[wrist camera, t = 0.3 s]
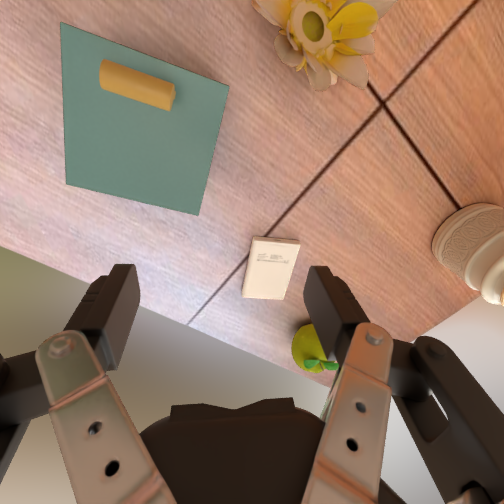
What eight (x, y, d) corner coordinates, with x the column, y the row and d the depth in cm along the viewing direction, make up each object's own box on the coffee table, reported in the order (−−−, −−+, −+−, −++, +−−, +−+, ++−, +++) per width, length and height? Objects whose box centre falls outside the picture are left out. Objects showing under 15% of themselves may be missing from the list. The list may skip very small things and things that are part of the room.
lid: (64, 22, 21) (25, 8, 17) (229, 86, 25) (232, 87, 20) (69, 181, 28) (42, 200, 23) (198, 213, 31) (196, 234, 27)
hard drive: (241, 291, 50) (252, 235, 44) (282, 294, 52) (299, 240, 45) (241, 297, 49) (253, 240, 42) (283, 300, 51) (301, 245, 44)
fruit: (301, 310, 55) (317, 351, 47) (336, 321, 58) (356, 361, 50) (279, 337, 59) (289, 379, 51) (312, 346, 62) (327, 387, 54)
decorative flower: (411, 24, 29) (454, 23, 22) (328, 107, 35) (340, 129, 28) (324, -123, 24) (342, -192, 16) (243, 7, 30) (229, 0, 22)
